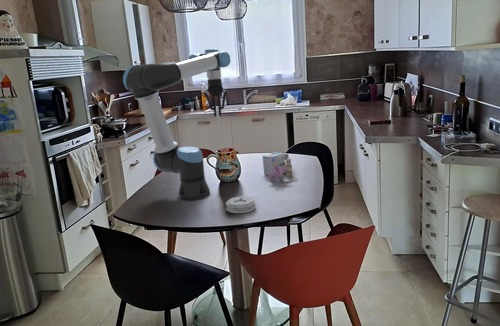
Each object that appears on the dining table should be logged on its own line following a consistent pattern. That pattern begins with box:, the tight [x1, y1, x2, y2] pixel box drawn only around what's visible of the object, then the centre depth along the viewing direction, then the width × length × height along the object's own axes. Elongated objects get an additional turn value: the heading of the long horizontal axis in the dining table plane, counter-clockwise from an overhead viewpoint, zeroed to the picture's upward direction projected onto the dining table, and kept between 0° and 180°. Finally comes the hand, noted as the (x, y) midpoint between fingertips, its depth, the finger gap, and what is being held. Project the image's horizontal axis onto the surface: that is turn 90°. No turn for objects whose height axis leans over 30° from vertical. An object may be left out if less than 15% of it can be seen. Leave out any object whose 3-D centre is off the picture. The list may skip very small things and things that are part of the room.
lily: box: [267, 164, 290, 183], centre depth 217 cm, size 12×12×10 cm
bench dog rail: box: [284, 152, 293, 178], centre depth 232 cm, size 16×3×9 cm, turn 0°
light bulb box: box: [262, 151, 285, 177], centre depth 233 cm, size 11×7×11 cm, turn 133°
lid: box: [225, 195, 257, 214], centre depth 182 cm, size 13×13×5 cm
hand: (218, 121), depth 235 cm, fingers closed
